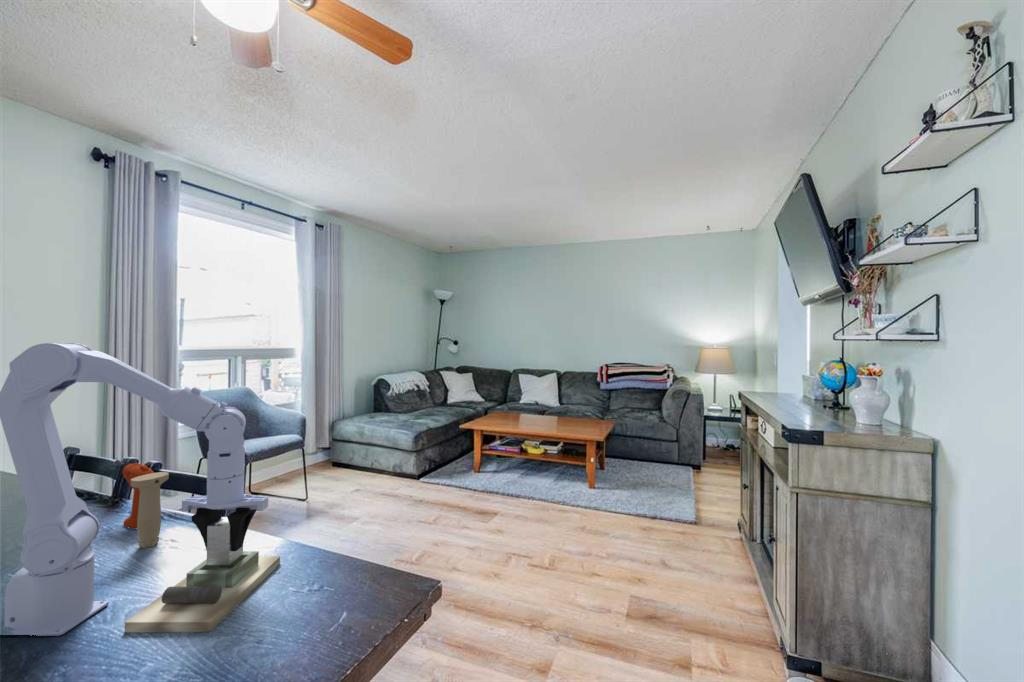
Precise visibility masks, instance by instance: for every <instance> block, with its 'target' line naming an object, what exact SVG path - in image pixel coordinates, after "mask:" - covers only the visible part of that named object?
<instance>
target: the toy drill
mask: <svg viewBox="0 0 1024 682" xmlns="http://www.w3.org/2000/svg"><path fill="white" fill-rule="evenodd" d="M114 463H115V464H116V465H118V467H119V470H120V471H121V472H122V475H123V478H124V479H125V480H126V482H127V483H128V484H129V486H130V487H131V489H133V494H132V495H133V496H132V503H131V514H130V516H128V517H126V518H125V519H124V521H123V526H124V525H125V526H126V527H125V526H124V527H125V528H127V527H129V528H128V529H130V528H137V518H138V509H139V497H140V490H139V488H136V487H133V486H131V479H133V478H135V477H138V476H142V475H146V474H151V473H155V472H154V471H153V470H152V469H151V468H150V467H148V465H146V464H141V463H139V462H138V463H137V462H135V463H132V462H129V461H128V462H123V461H121V460H119V459H116V460H115V461H114Z"/></svg>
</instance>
